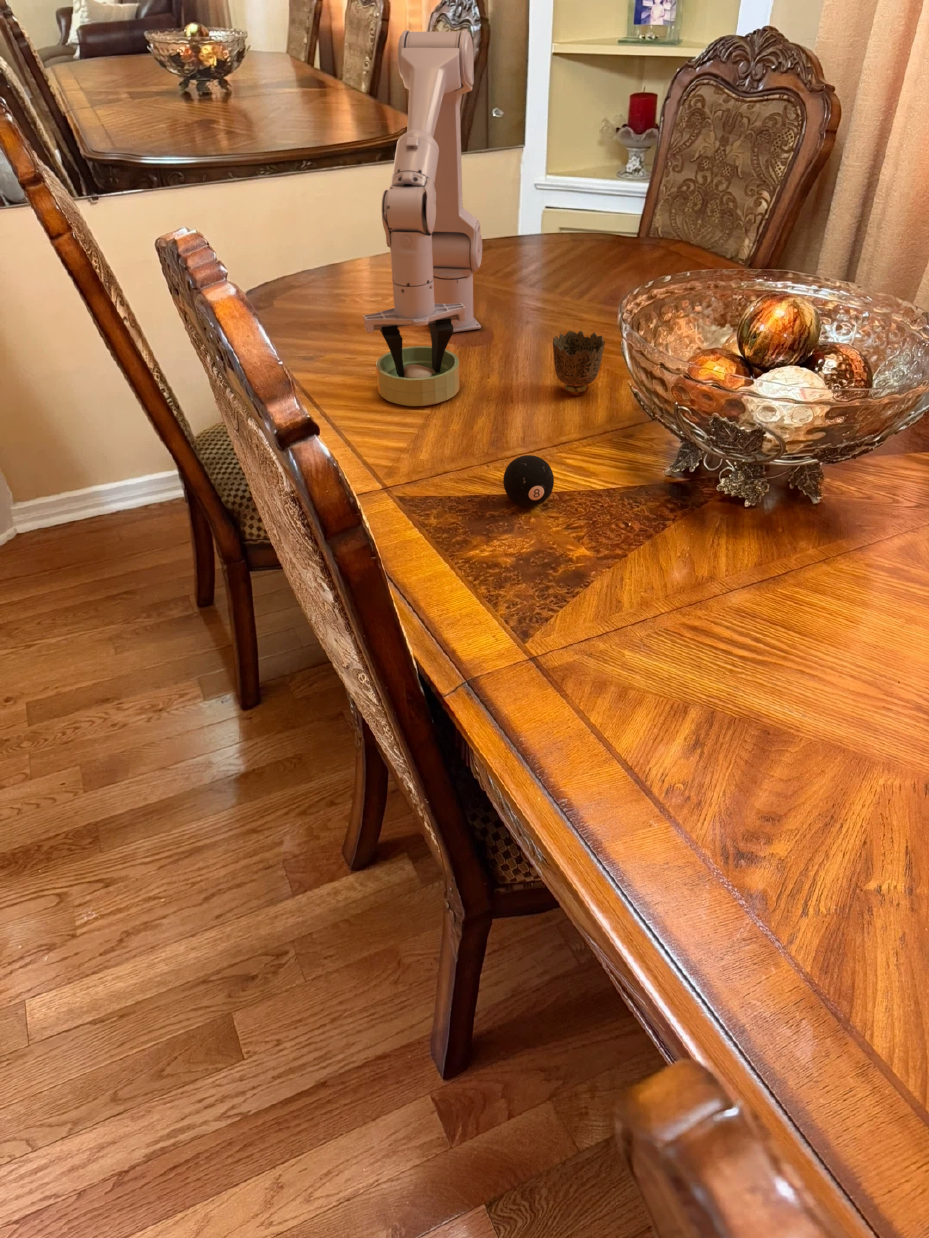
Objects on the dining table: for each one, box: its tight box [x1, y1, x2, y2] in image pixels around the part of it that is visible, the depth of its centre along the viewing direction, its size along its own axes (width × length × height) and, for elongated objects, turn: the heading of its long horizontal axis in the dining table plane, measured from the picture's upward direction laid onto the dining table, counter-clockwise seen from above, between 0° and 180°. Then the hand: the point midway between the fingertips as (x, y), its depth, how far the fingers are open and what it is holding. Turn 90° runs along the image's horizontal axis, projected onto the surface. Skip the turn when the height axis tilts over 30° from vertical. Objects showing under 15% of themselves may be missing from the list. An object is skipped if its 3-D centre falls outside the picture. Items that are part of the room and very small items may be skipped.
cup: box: [552, 330, 606, 397], centre depth 130 cm, size 8×7×8 cm
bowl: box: [375, 345, 461, 407], centre depth 132 cm, size 12×12×4 cm
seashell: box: [404, 365, 435, 378], centre depth 132 cm, size 4×5×2 cm
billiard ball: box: [502, 454, 555, 508], centre depth 107 cm, size 6×6×6 cm
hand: (418, 372), depth 132 cm, fingers closed on seashell, 5 cm apart
